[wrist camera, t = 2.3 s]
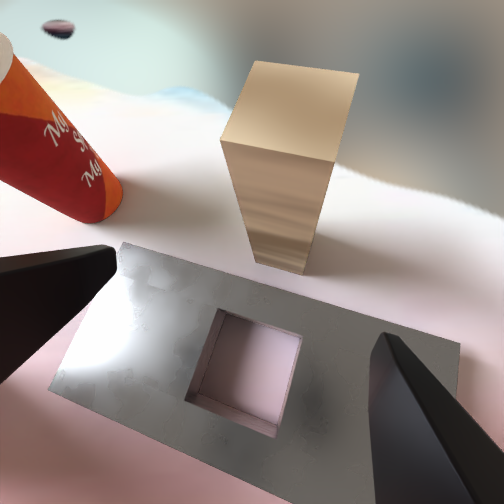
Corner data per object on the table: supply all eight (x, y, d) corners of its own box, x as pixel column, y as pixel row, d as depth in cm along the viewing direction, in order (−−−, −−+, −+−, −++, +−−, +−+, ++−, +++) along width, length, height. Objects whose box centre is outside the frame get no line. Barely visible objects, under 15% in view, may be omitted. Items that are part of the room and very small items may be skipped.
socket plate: (412, 532, 16) (441, 572, 13) (79, 384, 20) (47, 389, 18) (433, 344, 19) (460, 343, 16) (142, 254, 24) (123, 241, 21)
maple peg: (302, 275, 22) (334, 161, 9) (255, 262, 22) (219, 139, 9) (314, 231, 23) (359, 73, 10) (269, 220, 24) (255, 60, 11)
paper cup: (148, 196, 26) (12, 38, 13) (83, 249, 25) (-143, 135, 11) (106, 153, 28) (-44, -16, 15) (45, 199, 27) (-177, 59, 14)
